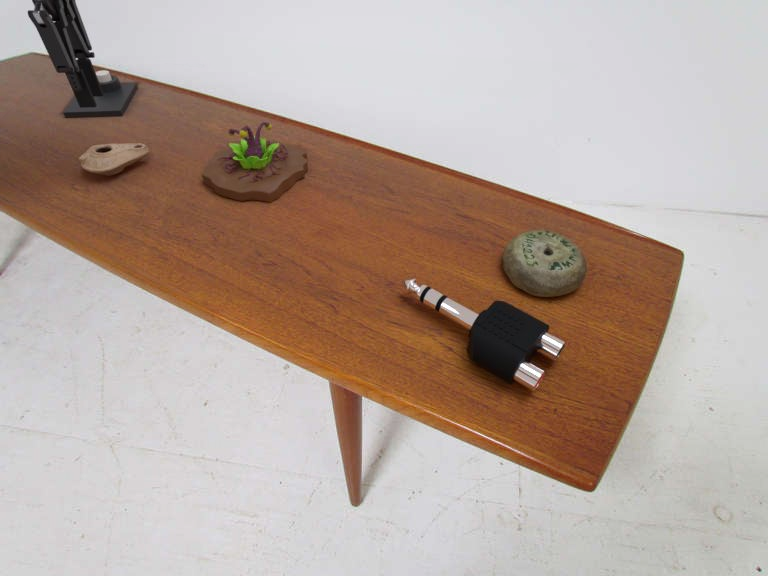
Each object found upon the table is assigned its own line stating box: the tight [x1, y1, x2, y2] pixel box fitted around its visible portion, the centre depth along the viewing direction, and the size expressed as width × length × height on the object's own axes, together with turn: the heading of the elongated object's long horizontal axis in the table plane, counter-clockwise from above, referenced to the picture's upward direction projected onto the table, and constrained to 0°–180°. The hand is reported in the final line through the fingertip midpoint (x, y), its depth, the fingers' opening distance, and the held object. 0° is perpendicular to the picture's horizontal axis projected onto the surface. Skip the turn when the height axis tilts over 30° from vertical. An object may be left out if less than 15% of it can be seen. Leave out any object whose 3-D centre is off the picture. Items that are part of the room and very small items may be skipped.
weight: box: [501, 229, 588, 298], centre depth 81 cm, size 14×13×5 cm
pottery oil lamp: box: [78, 142, 150, 177], centre depth 101 cm, size 9×12×7 cm
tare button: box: [95, 69, 112, 83], centre depth 125 cm, size 3×3×2 cm
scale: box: [62, 74, 139, 119], centre depth 123 cm, size 13×16×4 cm
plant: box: [201, 121, 309, 203], centre depth 99 cm, size 20×20×11 cm
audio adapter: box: [401, 278, 567, 392], centre depth 72 cm, size 11×5×25 cm
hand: (92, 100), depth 92 cm, fingers open, 4 cm apart
